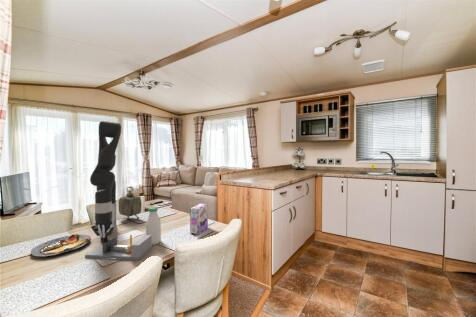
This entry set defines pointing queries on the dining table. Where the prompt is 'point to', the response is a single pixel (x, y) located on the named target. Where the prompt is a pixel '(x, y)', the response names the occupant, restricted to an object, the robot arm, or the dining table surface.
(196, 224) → the candy box
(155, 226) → the milk bottle
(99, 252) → the base
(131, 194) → the tabletop clock
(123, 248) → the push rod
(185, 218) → the dining table surface
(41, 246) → the food plate
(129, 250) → the needle
